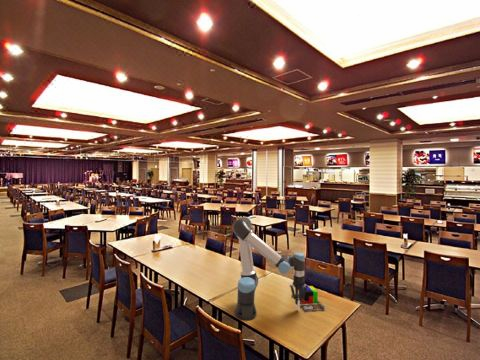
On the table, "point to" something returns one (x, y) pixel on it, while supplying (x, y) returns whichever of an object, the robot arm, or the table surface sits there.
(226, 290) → the table surface
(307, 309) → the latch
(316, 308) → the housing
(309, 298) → the puzzle toy
